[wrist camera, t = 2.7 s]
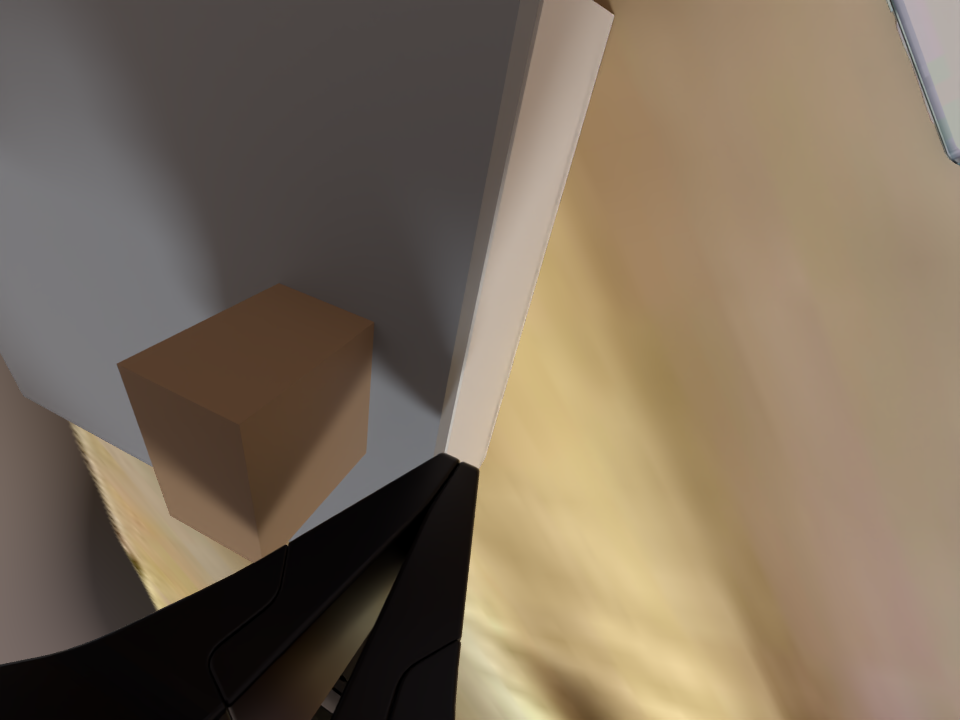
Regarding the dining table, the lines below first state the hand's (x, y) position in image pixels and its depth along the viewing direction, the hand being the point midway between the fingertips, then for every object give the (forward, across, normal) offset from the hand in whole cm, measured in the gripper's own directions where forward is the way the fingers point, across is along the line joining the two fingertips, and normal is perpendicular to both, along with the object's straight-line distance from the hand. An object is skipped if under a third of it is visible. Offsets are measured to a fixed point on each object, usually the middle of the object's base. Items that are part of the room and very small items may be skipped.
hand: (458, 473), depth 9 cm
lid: (+2, +10, 0) cm, 10 cm away
